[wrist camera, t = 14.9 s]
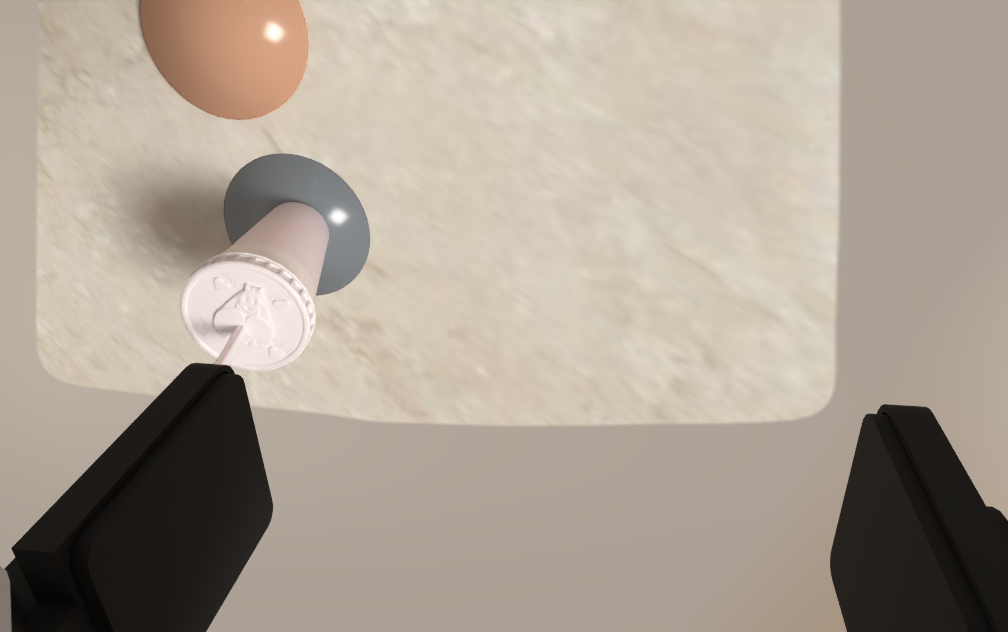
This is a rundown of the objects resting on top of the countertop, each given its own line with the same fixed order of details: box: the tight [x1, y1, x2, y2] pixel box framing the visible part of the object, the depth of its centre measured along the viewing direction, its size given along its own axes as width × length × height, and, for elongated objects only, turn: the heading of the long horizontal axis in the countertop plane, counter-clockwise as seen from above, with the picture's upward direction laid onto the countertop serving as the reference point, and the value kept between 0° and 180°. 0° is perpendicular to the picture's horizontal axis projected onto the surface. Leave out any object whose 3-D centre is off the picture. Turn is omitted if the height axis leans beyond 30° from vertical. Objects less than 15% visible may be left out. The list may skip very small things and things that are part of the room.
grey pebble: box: [224, 154, 370, 295], centre depth 45 cm, size 9×9×1 cm
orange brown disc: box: [141, 0, 309, 120], centre depth 40 cm, size 9×9×1 cm
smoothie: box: [180, 202, 329, 371], centre depth 39 cm, size 6×6×14 cm
